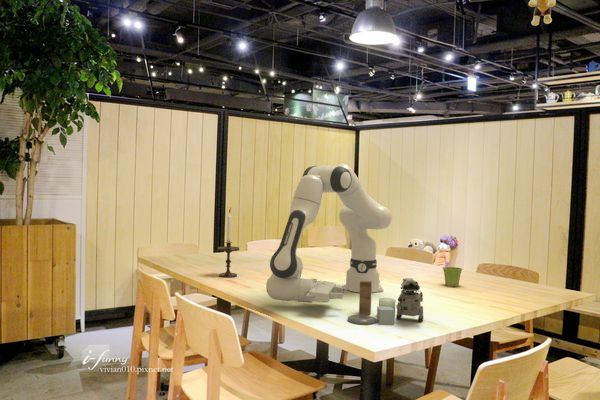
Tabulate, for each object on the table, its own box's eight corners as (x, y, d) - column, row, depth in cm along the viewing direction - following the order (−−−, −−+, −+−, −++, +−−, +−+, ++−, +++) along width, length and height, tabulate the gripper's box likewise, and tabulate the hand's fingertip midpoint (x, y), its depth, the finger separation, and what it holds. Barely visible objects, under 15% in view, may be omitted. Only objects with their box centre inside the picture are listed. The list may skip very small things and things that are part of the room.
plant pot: (438, 285, 247) (438, 267, 247) (447, 283, 254) (448, 266, 253) (456, 288, 240) (457, 270, 240) (465, 286, 247) (465, 268, 247)
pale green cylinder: (378, 313, 188) (379, 297, 188) (395, 314, 187) (395, 298, 187) (377, 317, 182) (378, 300, 182) (394, 318, 181) (395, 302, 181)
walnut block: (360, 311, 190) (361, 279, 190) (370, 312, 189) (371, 280, 189) (358, 314, 186) (360, 281, 186) (369, 315, 185) (370, 282, 185)
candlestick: (242, 277, 255) (244, 207, 254) (222, 278, 249) (224, 207, 248) (232, 273, 264) (234, 206, 263) (213, 275, 258) (215, 206, 257)
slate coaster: (349, 316, 183) (349, 314, 183) (377, 318, 181) (377, 316, 180) (345, 323, 173) (346, 321, 173) (375, 325, 171) (375, 323, 171)
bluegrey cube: (376, 320, 178) (377, 306, 178) (390, 320, 179) (391, 306, 178) (379, 324, 173) (380, 309, 173) (394, 324, 174) (394, 310, 173)
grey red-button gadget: (392, 323, 175) (394, 280, 174) (399, 316, 185) (400, 275, 185) (419, 327, 171) (420, 282, 171) (424, 319, 182) (426, 277, 181)
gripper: (302, 287, 182) (341, 290, 179) (313, 277, 202) (348, 280, 199) (302, 305, 182) (340, 308, 179) (313, 293, 202) (347, 296, 199)
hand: (344, 293), depth 189 cm, fingers open, 8 cm apart
